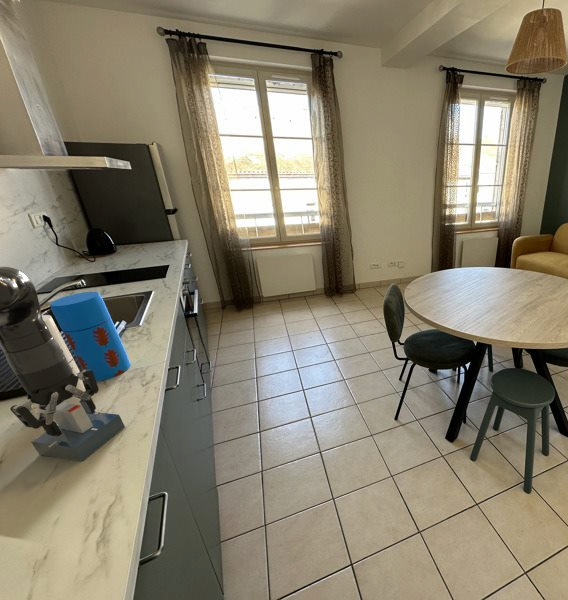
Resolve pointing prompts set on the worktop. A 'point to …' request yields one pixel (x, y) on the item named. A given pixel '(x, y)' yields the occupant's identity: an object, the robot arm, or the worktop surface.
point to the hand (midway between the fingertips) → (74, 423)
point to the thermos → (91, 334)
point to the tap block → (80, 438)
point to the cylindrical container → (66, 352)
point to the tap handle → (72, 417)
